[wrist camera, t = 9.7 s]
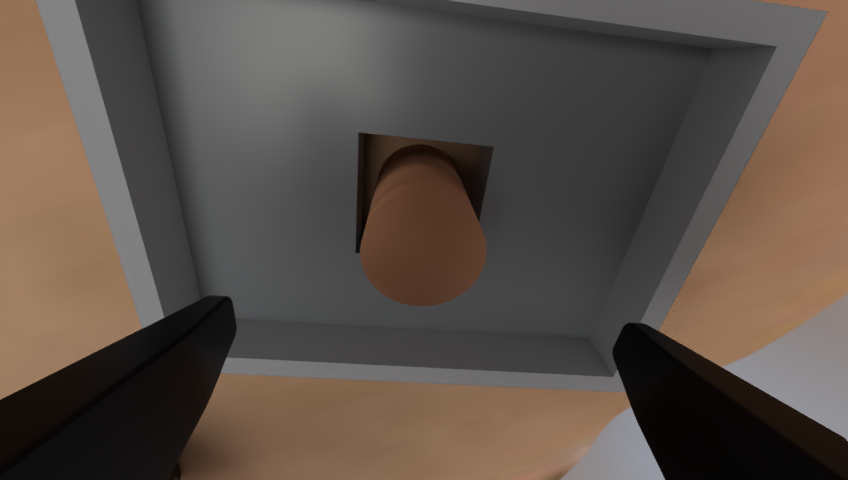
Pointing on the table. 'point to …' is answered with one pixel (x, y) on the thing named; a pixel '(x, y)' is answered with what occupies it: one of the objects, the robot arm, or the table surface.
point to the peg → (421, 230)
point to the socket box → (431, 120)
